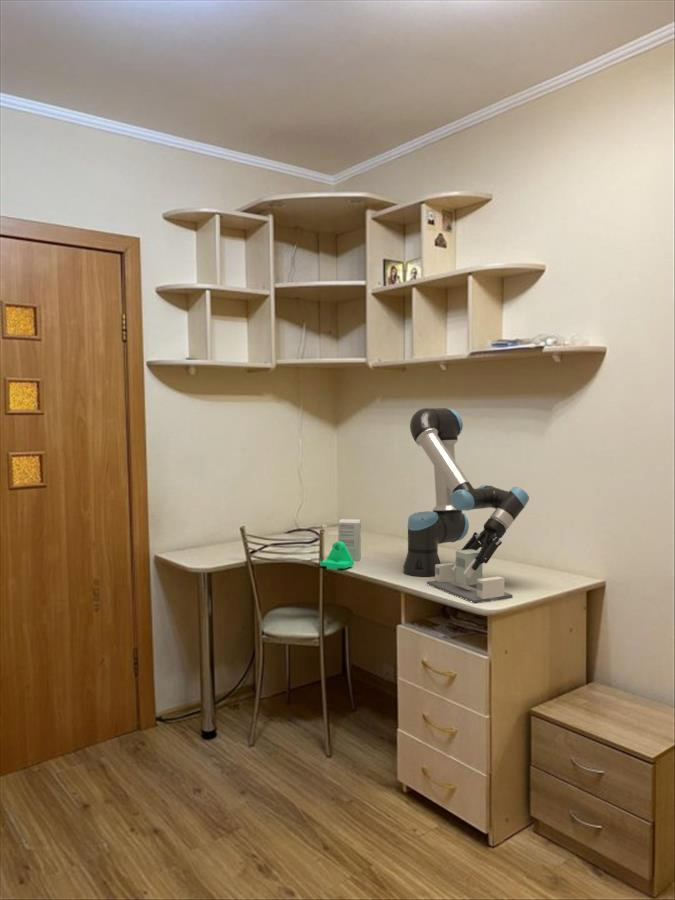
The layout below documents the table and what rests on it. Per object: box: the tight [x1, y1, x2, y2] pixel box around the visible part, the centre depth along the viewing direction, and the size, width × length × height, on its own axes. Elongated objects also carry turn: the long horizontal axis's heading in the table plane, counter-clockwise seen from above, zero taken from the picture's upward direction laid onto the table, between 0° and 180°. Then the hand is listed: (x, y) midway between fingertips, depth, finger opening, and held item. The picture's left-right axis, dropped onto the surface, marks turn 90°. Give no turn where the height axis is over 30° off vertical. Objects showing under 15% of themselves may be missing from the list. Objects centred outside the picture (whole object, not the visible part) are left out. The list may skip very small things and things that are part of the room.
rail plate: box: [426, 561, 514, 604], centre depth 241 cm, size 28×16×7 cm, turn 26°
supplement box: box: [337, 518, 362, 562], centre depth 293 cm, size 10×9×17 cm
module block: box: [455, 549, 483, 585], centre depth 241 cm, size 6×7×11 cm
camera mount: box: [319, 541, 355, 571], centre depth 279 cm, size 12×8×10 cm, turn 61°
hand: (460, 573), depth 239 cm, fingers closed on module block, 6 cm apart
